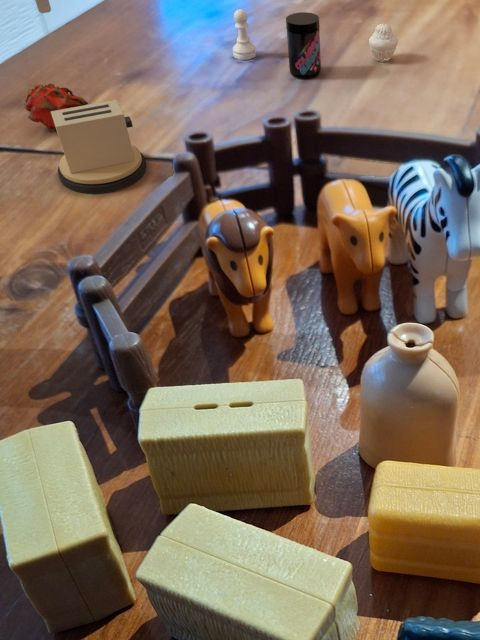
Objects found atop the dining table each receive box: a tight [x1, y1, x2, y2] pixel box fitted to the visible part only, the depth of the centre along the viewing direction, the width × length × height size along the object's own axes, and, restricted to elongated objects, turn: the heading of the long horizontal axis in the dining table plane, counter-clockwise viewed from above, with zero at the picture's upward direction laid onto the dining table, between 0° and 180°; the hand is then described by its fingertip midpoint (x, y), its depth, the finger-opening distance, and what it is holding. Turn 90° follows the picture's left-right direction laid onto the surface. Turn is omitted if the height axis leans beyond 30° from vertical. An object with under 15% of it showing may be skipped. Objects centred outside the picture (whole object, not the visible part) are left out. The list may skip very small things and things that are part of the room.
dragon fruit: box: [23, 83, 89, 133], centre depth 136 cm, size 8×8×12 cm
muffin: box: [368, 23, 398, 63], centre depth 155 cm, size 6×6×7 cm
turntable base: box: [57, 151, 147, 194], centre depth 127 cm, size 15×15×1 cm
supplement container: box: [285, 11, 322, 80], centre depth 149 cm, size 7×7×10 cm
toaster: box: [51, 99, 142, 184], centre depth 123 cm, size 14×14×9 cm
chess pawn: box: [232, 8, 257, 61], centre depth 156 cm, size 5×5×9 cm
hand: (40, 1), depth 111 cm, fingers open, 8 cm apart
